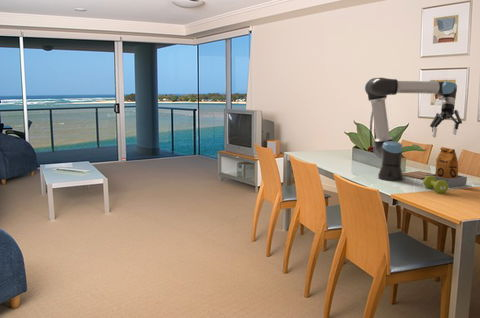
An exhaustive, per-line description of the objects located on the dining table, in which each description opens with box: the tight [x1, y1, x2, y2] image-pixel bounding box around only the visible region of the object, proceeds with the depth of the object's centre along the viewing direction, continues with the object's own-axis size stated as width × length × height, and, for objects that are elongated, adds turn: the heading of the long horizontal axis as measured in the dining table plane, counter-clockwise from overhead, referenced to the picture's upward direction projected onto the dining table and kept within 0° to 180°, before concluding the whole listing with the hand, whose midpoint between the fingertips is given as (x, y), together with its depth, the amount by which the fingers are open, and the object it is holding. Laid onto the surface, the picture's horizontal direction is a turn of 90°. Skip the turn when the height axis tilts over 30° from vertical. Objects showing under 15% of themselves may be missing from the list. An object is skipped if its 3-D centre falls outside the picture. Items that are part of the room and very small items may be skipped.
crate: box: [427, 173, 468, 188], centre depth 267 cm, size 17×15×5 cm
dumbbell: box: [422, 176, 450, 194], centre depth 249 cm, size 16×8×7 cm, turn 3°
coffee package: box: [434, 146, 459, 179], centre depth 266 cm, size 10×12×22 cm
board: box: [402, 170, 433, 180], centre depth 292 cm, size 20×18×1 cm
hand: (444, 135), depth 280 cm, fingers open, 13 cm apart
